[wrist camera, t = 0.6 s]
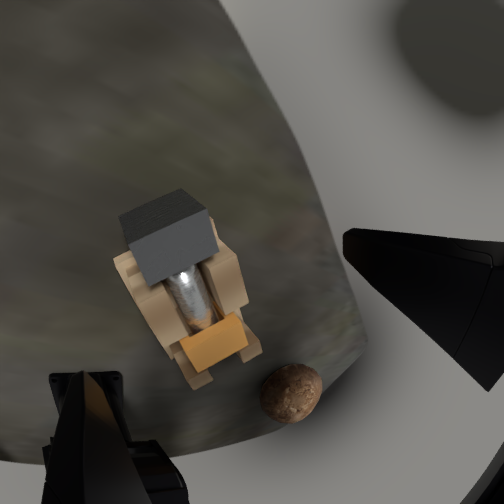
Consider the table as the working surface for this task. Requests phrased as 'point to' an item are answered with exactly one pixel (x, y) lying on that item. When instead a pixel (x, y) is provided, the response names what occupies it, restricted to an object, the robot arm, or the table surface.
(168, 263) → the shaft
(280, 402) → the mushroom
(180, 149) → the table surface
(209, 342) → the block
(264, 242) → the table surface
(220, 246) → the bearing block
